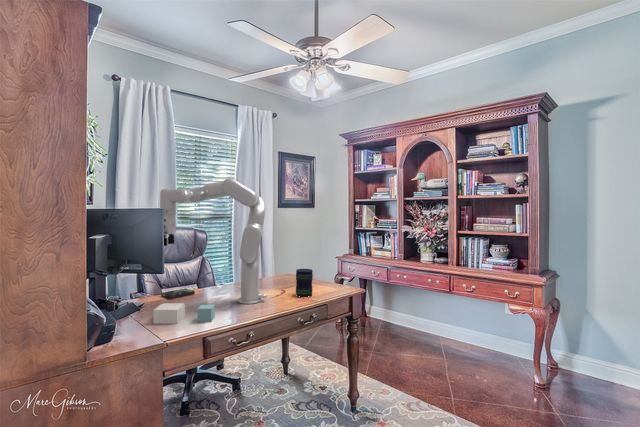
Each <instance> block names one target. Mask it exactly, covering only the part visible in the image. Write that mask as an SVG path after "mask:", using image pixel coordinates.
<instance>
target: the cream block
mask: <svg viewBox="0 0 640 427" xmlns="http://www.w3.org/2000/svg"><path fill="white" fill-rule="evenodd" d="M185 316H186V303H184V302H183V303H182V302H180V303H179V302H177V303H175V302H174V303H172V302H171V303H168V302H167V303H164V302H163V303H162V304H160V305H158V306H157V307H156V308H154V309H153V316H152V317H153V320H152V321H153V324H155V325H159V324H161V325H162V324H163V325H164V324H167V325H168V324H172V325H173V324H174V325H175V324H179V322H181V321H182V320H183V319H184V318H185Z"/></svg>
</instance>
